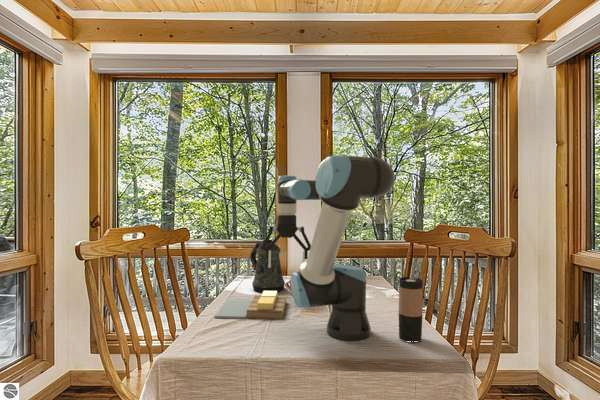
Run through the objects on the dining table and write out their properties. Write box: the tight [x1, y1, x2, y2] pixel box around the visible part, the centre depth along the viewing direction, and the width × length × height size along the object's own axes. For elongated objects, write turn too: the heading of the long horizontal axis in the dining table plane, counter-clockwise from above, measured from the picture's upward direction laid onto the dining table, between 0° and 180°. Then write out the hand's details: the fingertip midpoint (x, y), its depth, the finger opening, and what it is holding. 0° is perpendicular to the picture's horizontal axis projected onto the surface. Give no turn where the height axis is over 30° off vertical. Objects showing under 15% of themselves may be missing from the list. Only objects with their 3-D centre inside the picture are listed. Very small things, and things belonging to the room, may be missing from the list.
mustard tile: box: [257, 297, 275, 310], centre depth 152 cm, size 9×6×2 cm, turn 178°
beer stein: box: [249, 239, 286, 294], centre depth 192 cm, size 16×19×25 cm
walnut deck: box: [246, 294, 287, 319], centre depth 157 cm, size 22×14×3 cm, turn 178°
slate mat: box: [214, 298, 253, 320], centre depth 158 cm, size 24×12×1 cm, turn 178°
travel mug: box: [398, 276, 424, 342], centre depth 126 cm, size 8×8×20 cm
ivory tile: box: [260, 291, 278, 302], centre depth 163 cm, size 9×6×2 cm, turn 178°
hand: (286, 267), depth 151 cm, fingers open, 13 cm apart
